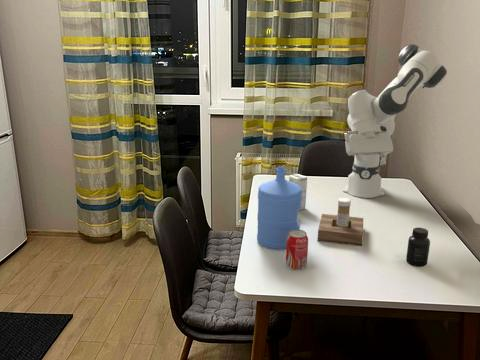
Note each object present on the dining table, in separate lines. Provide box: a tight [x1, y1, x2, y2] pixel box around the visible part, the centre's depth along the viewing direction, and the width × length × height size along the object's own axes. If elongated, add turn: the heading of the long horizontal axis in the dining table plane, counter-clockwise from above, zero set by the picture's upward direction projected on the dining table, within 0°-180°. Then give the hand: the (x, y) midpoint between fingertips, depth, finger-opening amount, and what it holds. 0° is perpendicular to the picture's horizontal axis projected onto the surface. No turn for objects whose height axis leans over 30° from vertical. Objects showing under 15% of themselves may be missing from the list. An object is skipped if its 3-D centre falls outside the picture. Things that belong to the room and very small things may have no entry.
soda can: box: [285, 229, 309, 271], centre depth 158 cm, size 7×7×12 cm
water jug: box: [256, 167, 302, 251], centre depth 174 cm, size 16×16×28 cm
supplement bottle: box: [405, 227, 431, 268], centre depth 161 cm, size 7×7×12 cm
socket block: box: [316, 213, 364, 247], centre depth 183 cm, size 16×16×4 cm
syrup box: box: [288, 173, 308, 211], centre depth 207 cm, size 6×6×14 cm
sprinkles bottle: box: [337, 197, 352, 228], centre depth 181 cm, size 5×5×13 cm
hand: (373, 165), depth 183 cm, fingers open, 8 cm apart
